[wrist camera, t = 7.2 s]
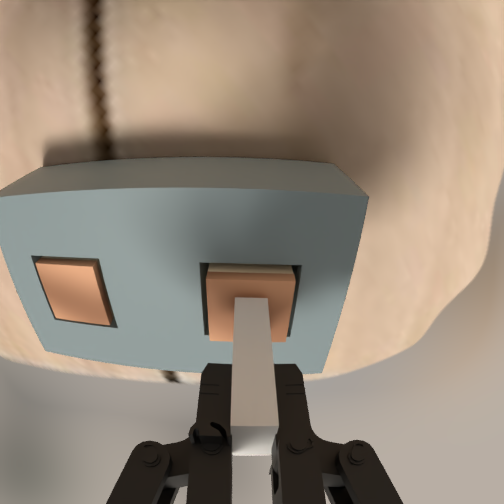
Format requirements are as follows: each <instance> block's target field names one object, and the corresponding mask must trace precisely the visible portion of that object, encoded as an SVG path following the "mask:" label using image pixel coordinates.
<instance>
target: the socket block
mask: <svg viewBox="0 0 504 504" xmlns="http://www.w3.org/2000/svg"><path fill="white" fill-rule="evenodd" d="M368 199H369V196H368V195H367V194H366V193H365V192H364V191H363V190H362V189H360V188H359V187H358V186H357V185H356V184H355V183H354V182H353V181H352V180H351V179H350V178H349V177H348V176H347V175H345V174H344V173H343V172H342V171H341V170H340V169H339V168H338V167H337V166H336V165H334V164H332V163H322V162H310V161H298V160H283V159H265V158H239V157H161V158H136V159H119V160H105V161H92V162H81V163H72V164H63V165H54V166H46V167H40V168H38V169H37V170H35V171H33V172H31V173H29V174H27V175H26V176H24V177H22V178H20V179H19V180H17V181H15V182H13V183H12V184H10V185H8V186H7V187H5V188H3V189H2V190H0V246H1V249H2V253H3V255H4V258H5V261H6V264H7V267H8V270H9V272H10V275H11V278H12V280H13V283H14V285H15V288H16V290H17V293H18V295H19V297H20V300H21V302H22V304H23V307H24V309H25V311H26V313H27V315H28V318H29V320H30V322H31V324H32V326H33V328H34V330H35V332H36V334H37V336H38V338H39V340H40V342H41V343H42V345H43V347H44V349H45V351H48V352H53V353H57V354H62V355H67V356H72V357H77V358H82V359H87V360H93V361H99V362H105V363H112V364H118V365H125V366H133V367H141V368H149V369H159V370H169V371H181V372H194V373H202V371H203V370H204V368H205V367H206V365H207V364H208V363H220V364H232V359H233V342H228V341H210V338H209V323H208V307H207V289H206V276H207V271H208V268H209V263H237V264H274V265H291V266H292V270H293V274H294V276H295V280H296V283H295V289H294V296H293V302H292V308H291V314H290V320H289V326H288V332H287V338H286V342H272V351H273V362H274V364H296V365H297V366H298V368H299V369H300V371H301V372H302V374H314V373H322V371H323V368H324V365H325V362H326V359H327V356H328V353H329V350H330V347H331V344H332V341H333V338H334V334H335V331H336V328H337V325H338V321H339V318H340V315H341V311H342V308H343V304H344V301H345V297H346V294H347V290H348V286H349V282H350V279H351V275H352V271H353V267H354V263H355V259H356V255H357V251H358V246H359V242H360V238H361V233H362V229H363V224H364V219H365V214H366V209H367V204H368ZM42 256H55V257H76V258H98V259H99V261H100V265H101V269H102V273H103V277H104V281H105V285H106V289H107V292H108V296H109V299H110V303H111V306H112V310H113V313H114V317H113V320H112V322H111V324H110V325H103V324H94V323H87V322H79V321H72V320H66V319H59V318H56V317H55V315H54V312H53V310H52V307H51V305H50V302H49V300H48V297H47V295H46V292H45V289H44V287H43V284H42V281H41V278H40V276H39V273H38V270H37V267H36V264H35V263H36V262H37V261H38V260H39V259H40V258H41V257H42Z"/></svg>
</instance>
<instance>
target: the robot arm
mask: <svg viewBox="0 0 504 504" xmlns="http://www.w3.org/2000/svg"><path fill="white" fill-rule="evenodd" d="M271 453H272V465H271V468H270V472H269V474H271V481H272V500H273V504H326V500H325V492H326V494H327V496H328V499H329V501H330V503H331V504H403V502H402V500H401V499H400V497H399V495H398V493H397V491H396V489H395V487H394V486H393V484H392V482H391V480H390V478H389V477H388V475H387V473H386V471H385V469H384V467H383V465H382V464H381V462H380V460H379V458H378V456H377V455H376V453H375V451H374V449H373V448H372V447H371V446H370V444H368V443H366V442H365V441H361V440H353V441H349V442H348V443H346V444H339V443H333V442H328V441H325V440H322V439H321V438H319V437H318V436H316V435H315V433H314V432H313V430H312V428H311V425H310V419H309V412H308V406H307V400H306V395H305V388H304V381H303V375H302V372H301V371H300V369H299V368H298V366H297V365H296V364H274V362H273V351H272V341H271V330H270V319H269V309H268V298H244V297H235V307H234V332H233V359H232V364H220V363H208V364H207V365H206V367H205V368H204V370H203V371H202V374H201V382H200V392H199V400H198V409H197V418H196V423H195V424H194V425H193V426H192V427H191V428H190V431H189V437H188V438H187V439H185V440H183V441H181V442H177V443H171V444H166V445H162V444H160V443H158V442H154V441H146V442H142V443H140V444H138V445H137V446H136V447H135V448H134V450H133V451H132V453H131V455H130V457H129V459H128V461H127V463H126V465H125V467H124V469H123V471H122V473H121V475H120V477H119V479H118V481H117V483H116V485H115V487H114V489H113V491H112V493H111V495H110V497H109V499H108V501H107V503H106V504H173V503H174V500H175V498H176V495H177V493H178V490H179V488H180V487H184V486H188V488H187V503H186V504H232V455H242V456H245V455H246V456H249V455H250V456H252V455H255V456H257V455H258V456H260V455H271ZM324 490H325V492H324Z"/></svg>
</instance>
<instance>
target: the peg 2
mask: <svg viewBox="0 0 504 504" xmlns="http://www.w3.org/2000/svg"><path fill="white" fill-rule="evenodd" d="M295 283H296V280H295V276H294V274H293V270H292V266H291V265H274V264H237V263H209V268H208V271H207V276H206V289H207V307H208V323H209V338H210V341H228V342H233V332H234V307H235V297H244V298H268V309H269V319H270V330H271V341H272V342H286V338H287V332H288V326H289V320H290V314H291V308H292V302H293V296H294V289H295Z"/></svg>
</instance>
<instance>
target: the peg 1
mask: <svg viewBox="0 0 504 504" xmlns="http://www.w3.org/2000/svg"><path fill="white" fill-rule="evenodd" d="M35 264H36V267H37V270H38V273H39V276H40V278H41V281H42V284H43V287H44V289H45V292H46V295H47V297H48V300H49V302H50V305H51V307H52V310H53V312H54V315H55V317H56V318H59V319H66V320H72V321H79V322H87V323H94V324H103V325H110V324H111V322H112V320H113V317H114V313H113V310H112V306H111V303H110V299H109V296H108V292H107V289H106V285H105V281H104V277H103V273H102V269H101V265H100V261H99V259H98V258H76V257H55V256H42V257H41V258H40V259H39V260H38V261H37V262H36V263H35Z"/></svg>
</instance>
